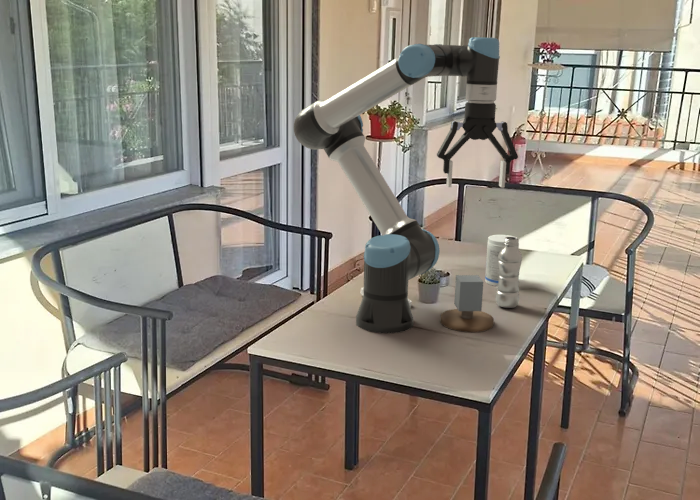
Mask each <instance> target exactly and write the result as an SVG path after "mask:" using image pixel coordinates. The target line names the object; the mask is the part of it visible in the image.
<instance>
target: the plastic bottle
mask: <svg viewBox="0 0 700 500" xmlns="http://www.w3.org/2000/svg"><path fill="white" fill-rule="evenodd" d="M518 241H519V238H518V237H517V238H516V236H514V237H505V242H504V245H505V247H504V248H503V249H502V250H501V251H500V253H499V255H498V262H499V282H498V287H497V289H496V292H495V303H496V304H497V306H498V307H501V308H504V309H505V308H506V309H513V308H516V307H517V306H518V305H519V303H520V299H521V298H520V292H519V285H520V284H519V278H520V277H519V276H520V270H521V265H522V261H523V256H522V253H521V250H520V249H518V248H517V246H518V245H519V246H520V241H519V243H518Z"/></svg>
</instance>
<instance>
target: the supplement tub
mask: <svg viewBox="0 0 700 500" xmlns="http://www.w3.org/2000/svg"><path fill="white" fill-rule="evenodd" d="M505 237H516V236H514V235H510V234H509V235H507V234H493V235H492V234H491V235H489V236H488V237H487V246H486V260H485V273H484V274H485V277H484V281H485V283H486V284H487V285H489V286H493V287H497V288H498V282H499V262H498V255H499V253H500V251H501V250H502V249H503V248H504V247H505V245H504V242H505ZM516 238H518V237H516ZM518 243H519V245H518V246H517V248H518V249H519V248H520V247H519V246H520V241H518ZM519 250H520V249H519Z"/></svg>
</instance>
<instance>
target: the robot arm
mask: <svg viewBox="0 0 700 500" xmlns="http://www.w3.org/2000/svg"><path fill="white" fill-rule="evenodd" d="M500 58H501V55H500V40H499V39H498V38H496V37H473V36H472V37H470V38H469V39H468V43H467V44H466V45H465V44H464V45H459V44H458V45H456V44H437V43H436V44H435V43H434V44H423V43H414V44H409V45H407V46H406V47H404V48H403V49H402V51H401V52H400V54H399V55H398V56H397V57H396V58H394V59H392V60H391V61H389V62H388V63H386V64H383V65H382V66H381V67H379V68H377V69H375V70H374V71H373V72H370V73H369V74H368V75H366V76H364V77H363V78H361V79H359V80H357V81H356V82H354V83H352V84H351V85H349V86H348V87H346V88H345V89H342V90H341V91H339V92H337V93H335V94H334V95H332V96H331V97H330V98H328V99H325V100H323V99H319V100H316V101H315V102H313V103H311V104H310V105H308V106H306V107H305V108H303V109H301V110H300V111H299V112H298V114H297V115H296V117H295V119H294V121H293V122H294V123H293V133H294V136H295V138H296V140H297V141H298V143H299V144H300V145H302V146H303V147H305V148H306V149H310V150H315V151H316V150H324V152H325V154H326V155H327V157H328V159H329V160H330V161H333V162H337V163H338V164H339V166H340V168H341V169H342V171H343V173H344V174H345V177H346V178H347V179H348V181H349V183H350V184H351V186H352V188H353V189H354V192H355V193H356V194H357V196H358V198H359V199H360V202H362V204H363V205H364V207H365V209H366V211H367V212H368V215H369V216H370V217H371V219H372V221H373V223H374V224H375V225H376V228H377V229H378V230H379V232H380V235H376V236H374V237H371V238H370V239H368V241H367V242H366V243H365V246H364V253H363V287H364V293H363V295H362V299H361V302H360V305H359V307H358V310H357V313H356V316H355V325H356V326H357V327H358V328H360V329H362V330H365V331H367V332H370V333H378V334H399V333H403V332H406V331H409V330H411V329H412V328H413V326H414V316H413V315H414V314H413V312H412V309H411V307H410V305H409V301H408V299H409V297H408V296H409V295H408V294H409V280H411V279H414V278H416V277H418V276H419V275H424V274H426V273H427V272H429V271H430V270H432V268H434V267H435V266H436V264H437V263H438V260H439V257H440V244H439V242H438V239H437V238H436V236H435V235H434V234H433V233H431V231H429V230H426V229H423V228H422V227H421V226H420V224H419V223H418V221H417V219H415V218H414V219H413V218H410V217H408V215H407V213H406V212H405V210H404V209H403V206H401V204H400V202H399V200H398V199H397V197H396V196H395V194H394V193H393V190H392V189H391V188H390V186H389V184H388V183H387V181H386V179H385V177H384V175H383V174H382V173H381V171H380V170H379V168H378V167H377V164H376V163H375V162H374V160H373V158H372V157H371V155H370V153H369V152H368V150H367V148H366V147H365V141H366V136H365V135H364V133H363V132H364V129H363V127H364V121H363V120H362V117H361V115H362V114H364V113H365V112H367V111H369V110H370V109H373V108H375V107H376V106H378V105H379V104H382V103H383V102H384V101H387V100H389V99H390V98H392V97H393V96H395V95H397V94H399V93H401V92H403V90H406V89H407V88H409V87H411V86H412V85H414V84H416V83H418V82H420V81H422V80H424V79H425V78H429V77H430V78H431V77H444V76H445V77H447V76H448V77H466V85H465V86H466V87H465V100H466V102H465V103H464V118H463V121H462V122H461V121H456V120H452V121H451V124H450V128H449V131H448V132H447V135H446V136H445V138H444V140H443V142H442V143H441V145H440V147H439V149H438V151H437V152H436V157H437V158H438V159H440V160H443V167H442V170H443V173H444V174H446V186H447V187H448V188H452V183H453V182H452V180H453V163H454V162H453V160H451V159H452V158H453V157H454V156H455V155H456V154H457V153H458V151H459V150H460V149H461V148H462V147H463V146H464V145H465V144H466V143H467V142H468V141H469V140H470V139H471V140H473V141H474V140H475V141H476V140H482V141H486V140H487V139H488V140H489V142H490V143H491V144H492V145H493V147H494V148H495V150H496V151H497V152H498V153H499V155H500V156H501V157H502V159H503V160H500V163H499V165H500V166H499V167H500V168H499V178H498V186H499V187H500V188H502V189H504V188H505V185H506V184H505V183H506V175H509V174H510V170H511V169H510V167H511V162H512V161H513V160H517V159H518V158H519V155H518V153H517V150H516V148H515V145H514V144H513V143H514V142H513V140H512V138H511V136H510V134H509V132H508V131H509V130H508V127H509V126H508V122H506V121H503V120H502V121H500V122H496V109H497V105H496V103H495V101H497V94H498V93H497V91H498V75H499V65H500V64H499V63H500ZM461 128H462V129H463V131H464V133H463V134H462V135H461V136H460V137H459V139H458V140H456V142H455V143H454V144H453V146H452V147H450V145H451V143H452V142H453V139H454V138H455V136H456V134H457V132H458V131H460V129H461ZM496 129H497V130H498V131H499V132H500V133H501V136H502V139H503V140H504V143H505V146H506V148H507V151H508V153H507V152H506V150H505V148H504V147H503V146H502V145H501V143H500V142H499V141H498V139H497V138H496V136H495V135H494V134H493V132H494V131H495V130H496ZM449 147H450V149H449V150H448V148H449ZM447 150H448V151H447Z"/></svg>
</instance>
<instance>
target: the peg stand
mask: <svg viewBox="0 0 700 500" xmlns="http://www.w3.org/2000/svg"><path fill="white" fill-rule="evenodd" d="M494 320H495V319H494V316H493V315H491V314H489V313H487V312H484V311H482V310H481V311H458V309H457V308H454V309H453V308H452V309H449V310H445V311H443V312H441V314H440V321H439V322H440V323H441V325H442V326H444V327H445V328H446V329H447V328H448V329H450V330H453V331H459V332H464V333H479V332H485V331H489V330H491V329H492V328H493V327H494Z"/></svg>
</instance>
